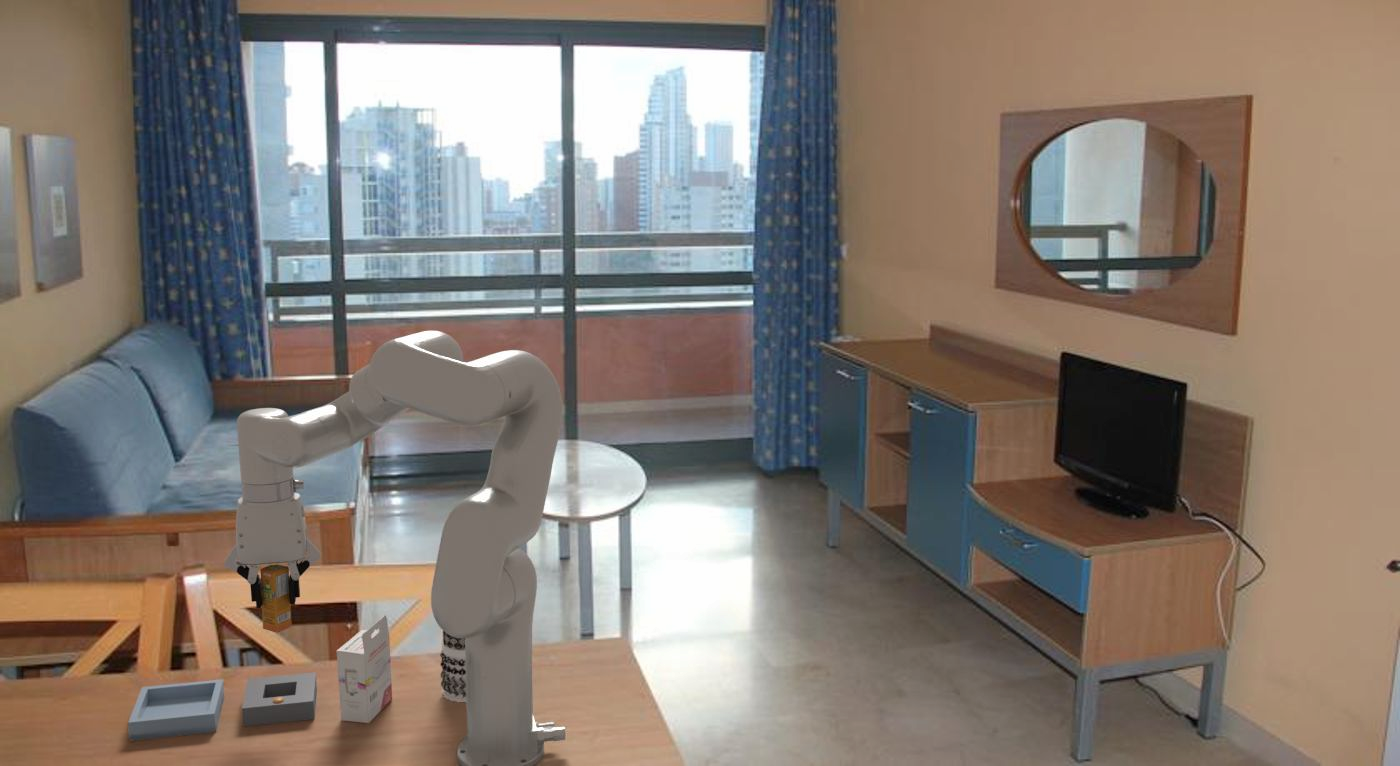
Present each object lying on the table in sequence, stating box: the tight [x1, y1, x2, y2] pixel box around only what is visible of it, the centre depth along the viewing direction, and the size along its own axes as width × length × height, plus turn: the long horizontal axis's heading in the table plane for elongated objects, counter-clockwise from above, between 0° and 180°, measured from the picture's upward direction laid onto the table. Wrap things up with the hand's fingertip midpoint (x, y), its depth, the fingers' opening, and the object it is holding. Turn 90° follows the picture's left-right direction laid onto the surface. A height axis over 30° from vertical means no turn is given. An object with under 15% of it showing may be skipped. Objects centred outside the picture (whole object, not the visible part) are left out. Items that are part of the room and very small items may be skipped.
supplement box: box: [260, 563, 293, 634], centre depth 187 cm, size 3×3×10 cm
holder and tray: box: [127, 671, 318, 741], centre depth 189 cm, size 26×12×3 cm, turn 105°
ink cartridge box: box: [336, 615, 393, 724], centre depth 189 cm, size 9×5×15 cm, turn 168°
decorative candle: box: [439, 630, 466, 703], centre depth 195 cm, size 9×9×25 cm
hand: (276, 602), depth 188 cm, fingers closed on supplement box, 4 cm apart
